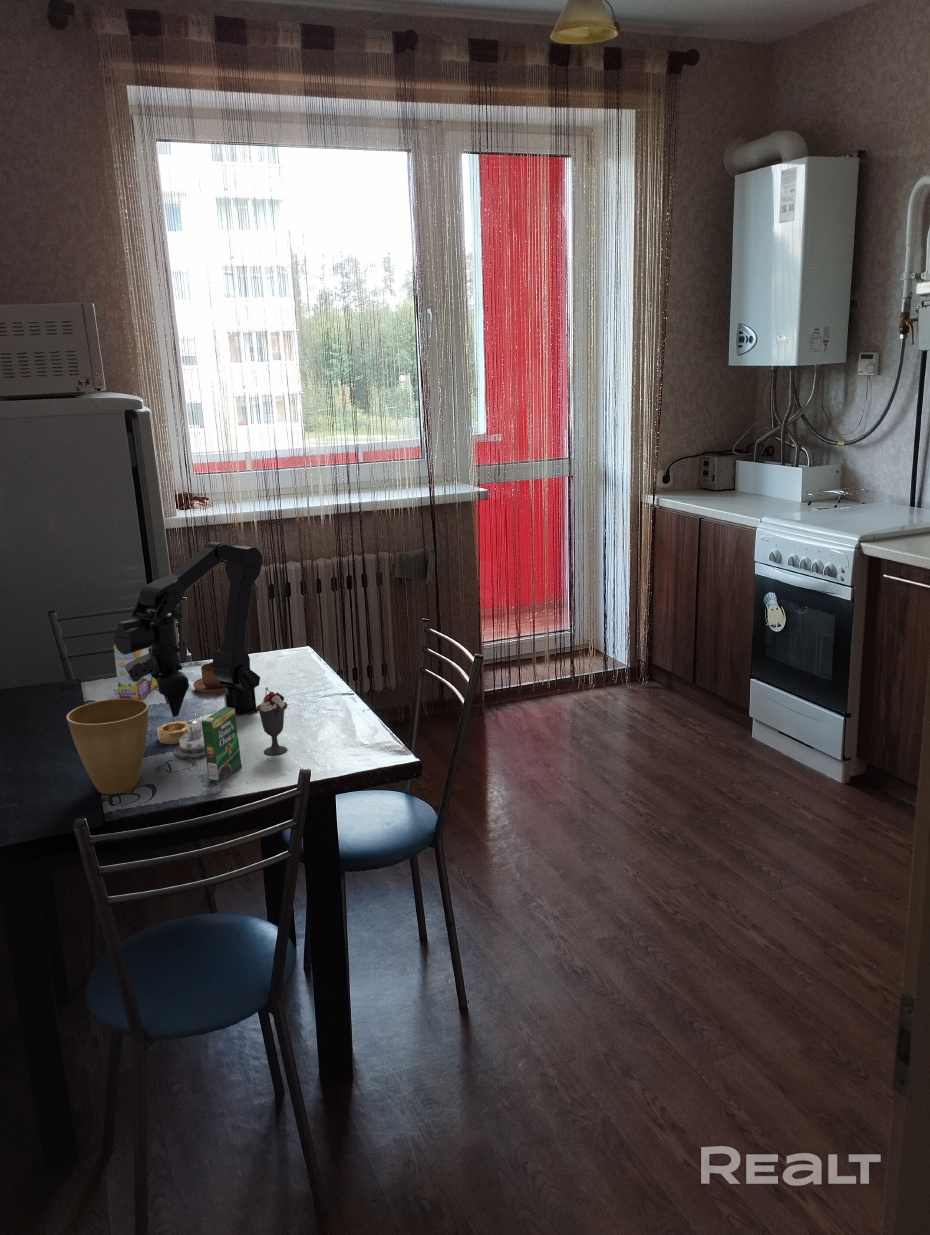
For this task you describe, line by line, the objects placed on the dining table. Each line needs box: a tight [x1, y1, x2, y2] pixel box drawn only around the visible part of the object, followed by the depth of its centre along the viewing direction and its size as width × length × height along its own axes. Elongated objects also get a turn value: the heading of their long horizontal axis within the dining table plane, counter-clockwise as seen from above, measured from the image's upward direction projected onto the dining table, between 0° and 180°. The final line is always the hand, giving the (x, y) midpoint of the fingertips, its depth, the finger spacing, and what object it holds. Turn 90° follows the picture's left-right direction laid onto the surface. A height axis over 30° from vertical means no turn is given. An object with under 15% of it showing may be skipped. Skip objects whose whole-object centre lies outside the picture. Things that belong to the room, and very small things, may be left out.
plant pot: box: [66, 698, 149, 795], centre depth 188 cm, size 15×15×16 cm
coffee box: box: [201, 706, 243, 783], centre depth 191 cm, size 8×3×13 cm, turn 159°
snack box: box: [113, 644, 157, 701], centre depth 245 cm, size 21×6×15 cm, turn 179°
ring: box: [156, 720, 188, 745], centre depth 213 cm, size 7×7×2 cm
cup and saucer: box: [193, 662, 226, 694], centre depth 245 cm, size 12×12×6 cm
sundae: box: [255, 687, 288, 756], centre depth 202 cm, size 7×7×15 cm
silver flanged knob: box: [174, 719, 206, 760], centre depth 205 cm, size 9×9×6 cm
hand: (172, 709), depth 212 cm, fingers open, 9 cm apart
